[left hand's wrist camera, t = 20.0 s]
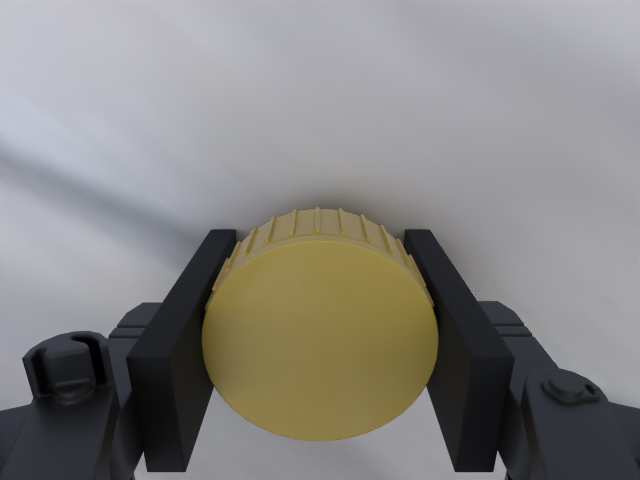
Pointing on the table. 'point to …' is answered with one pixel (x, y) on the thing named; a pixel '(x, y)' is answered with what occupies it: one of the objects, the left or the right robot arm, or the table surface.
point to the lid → (319, 327)
